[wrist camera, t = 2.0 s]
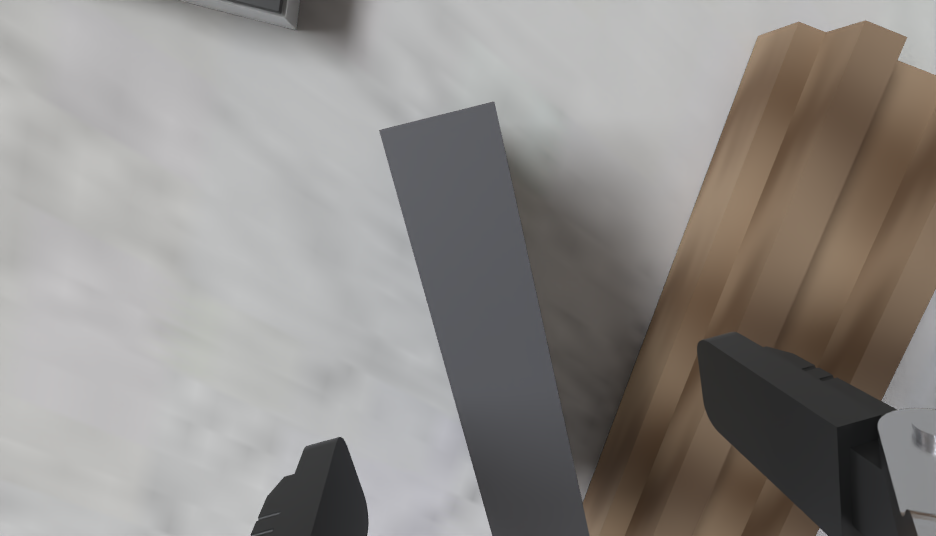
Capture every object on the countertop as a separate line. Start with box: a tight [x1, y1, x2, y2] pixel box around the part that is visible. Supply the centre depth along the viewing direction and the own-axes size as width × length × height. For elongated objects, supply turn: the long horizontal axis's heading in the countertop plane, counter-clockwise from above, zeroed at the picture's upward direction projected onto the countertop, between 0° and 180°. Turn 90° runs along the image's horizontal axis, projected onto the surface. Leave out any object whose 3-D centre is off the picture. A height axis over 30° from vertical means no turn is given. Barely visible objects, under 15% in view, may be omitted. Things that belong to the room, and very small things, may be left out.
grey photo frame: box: [379, 102, 590, 536], centre depth 16 cm, size 14×2×8 cm, turn 14°
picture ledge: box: [583, 21, 936, 536], centre depth 19 cm, size 22×9×4 cm, turn 164°
